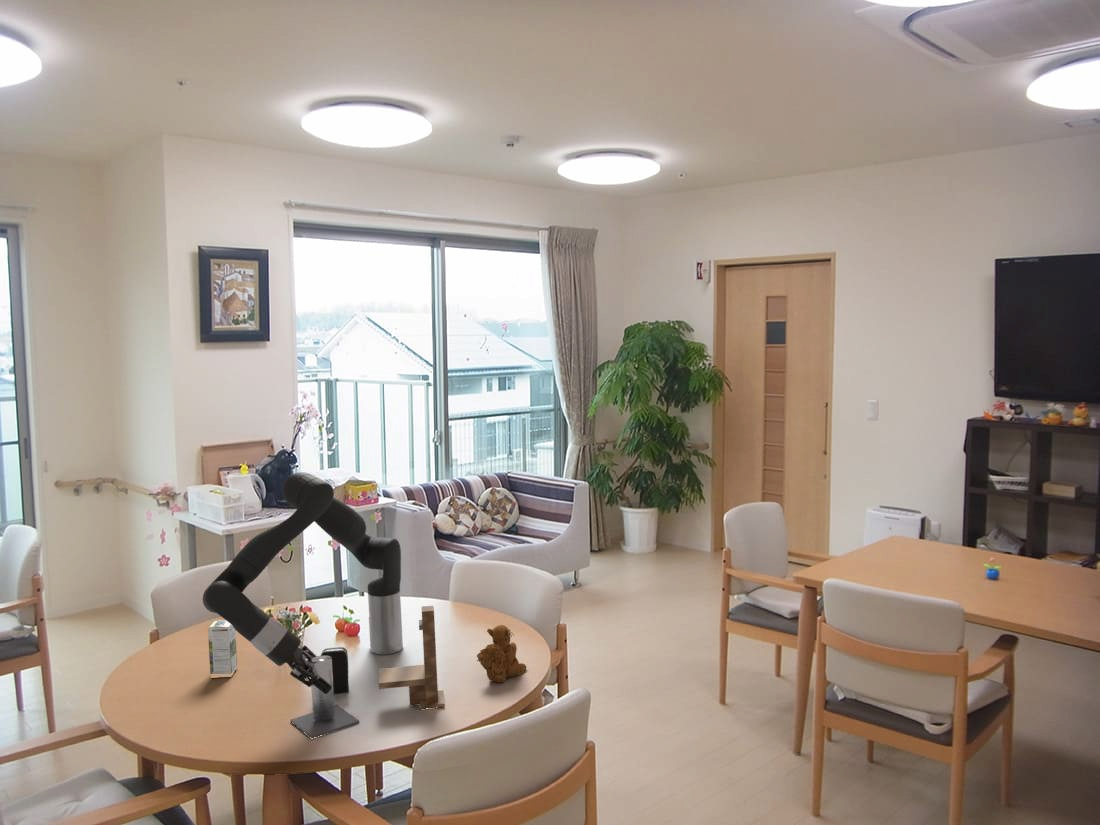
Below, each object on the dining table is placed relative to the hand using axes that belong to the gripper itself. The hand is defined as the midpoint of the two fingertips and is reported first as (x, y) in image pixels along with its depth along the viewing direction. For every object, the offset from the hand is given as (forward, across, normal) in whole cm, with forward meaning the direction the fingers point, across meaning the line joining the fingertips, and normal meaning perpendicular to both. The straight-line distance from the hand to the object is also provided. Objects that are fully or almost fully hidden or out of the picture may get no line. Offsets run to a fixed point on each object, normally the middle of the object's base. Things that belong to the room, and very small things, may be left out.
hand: (330, 685), depth 202 cm
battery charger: (+6, +18, +7) cm, 20 cm away
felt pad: (+5, 0, +8) cm, 9 cm away
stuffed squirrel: (+37, +17, -24) cm, 47 cm away
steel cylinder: (+4, 0, +6) cm, 8 cm away
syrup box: (-16, +37, +29) cm, 50 cm away
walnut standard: (+20, +6, -7) cm, 22 cm away
